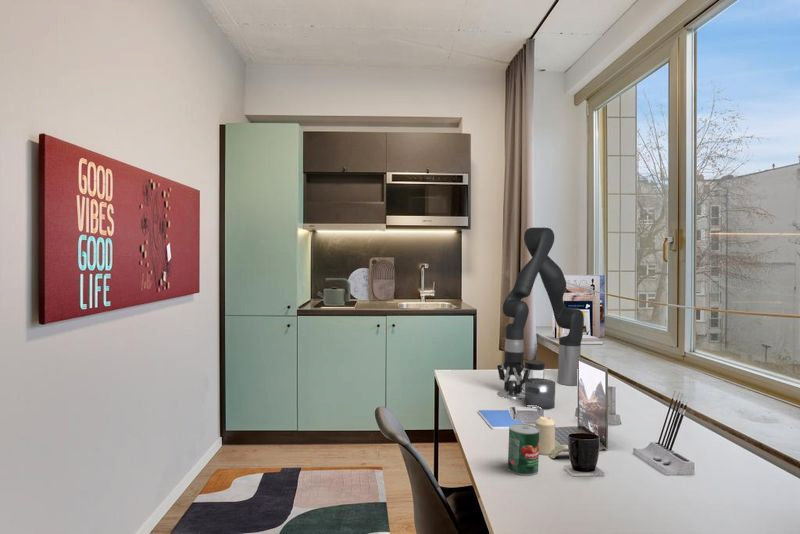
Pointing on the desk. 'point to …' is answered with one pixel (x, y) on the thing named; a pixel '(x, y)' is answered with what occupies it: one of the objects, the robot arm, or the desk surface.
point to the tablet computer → (498, 418)
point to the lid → (512, 392)
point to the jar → (535, 369)
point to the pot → (540, 393)
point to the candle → (546, 434)
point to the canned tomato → (523, 449)
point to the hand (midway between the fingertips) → (512, 392)
